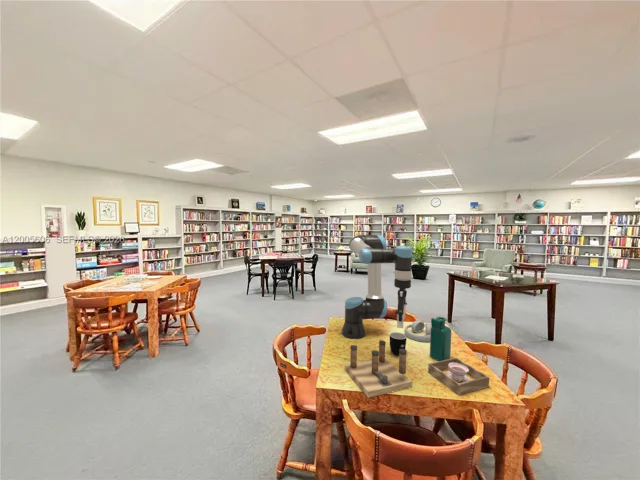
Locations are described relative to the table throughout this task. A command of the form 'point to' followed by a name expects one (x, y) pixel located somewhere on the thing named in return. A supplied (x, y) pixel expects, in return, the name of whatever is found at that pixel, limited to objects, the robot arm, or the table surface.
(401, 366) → the loose leg
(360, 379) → the stool top
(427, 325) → the headphones
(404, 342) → the mug
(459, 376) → the teacup
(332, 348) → the table surface
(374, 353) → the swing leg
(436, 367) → the cup coaster tray
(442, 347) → the green bottle
